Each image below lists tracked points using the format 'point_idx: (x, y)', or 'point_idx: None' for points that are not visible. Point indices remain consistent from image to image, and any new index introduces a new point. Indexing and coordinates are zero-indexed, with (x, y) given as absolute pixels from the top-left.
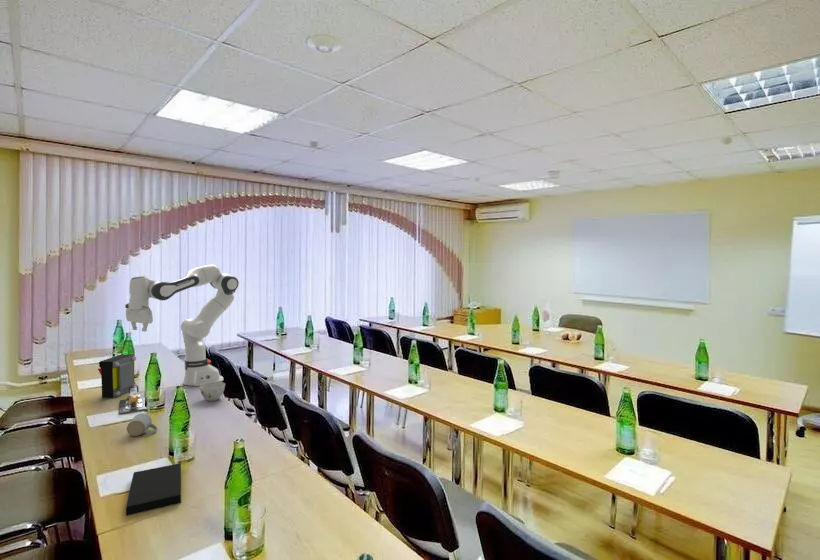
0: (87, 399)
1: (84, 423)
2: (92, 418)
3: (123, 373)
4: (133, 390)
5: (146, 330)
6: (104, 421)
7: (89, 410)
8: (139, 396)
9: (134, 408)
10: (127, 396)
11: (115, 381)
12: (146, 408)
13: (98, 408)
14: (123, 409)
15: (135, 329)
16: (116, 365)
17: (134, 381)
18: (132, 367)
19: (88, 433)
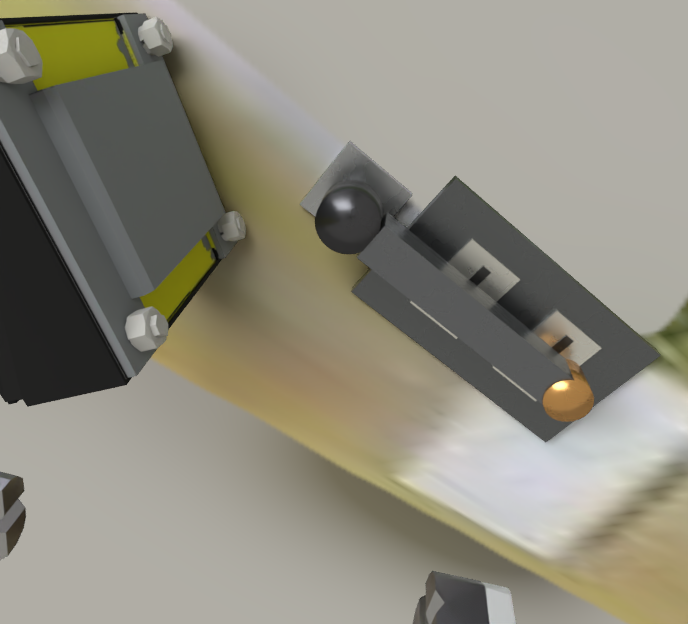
0: None
1: (481, 539)
2: (456, 495)
3: (166, 217)
4: (435, 295)
5: (511, 605)
6: (552, 509)
7: (329, 427)
8: (395, 188)
9: None
10: (313, 214)
11: (183, 259)
12: (651, 359)
13: (343, 397)
14: (523, 401)
15: (9, 506)
16: (164, 339)
17: (111, 14)
18: (93, 88)
19: (604, 601)
